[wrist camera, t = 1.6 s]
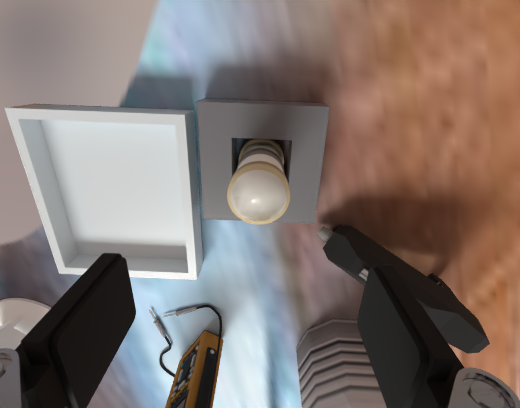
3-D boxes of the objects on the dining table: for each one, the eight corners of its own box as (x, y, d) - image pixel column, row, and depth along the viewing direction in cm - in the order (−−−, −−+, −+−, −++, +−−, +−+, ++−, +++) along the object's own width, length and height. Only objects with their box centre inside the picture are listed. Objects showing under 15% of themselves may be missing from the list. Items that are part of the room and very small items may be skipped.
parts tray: (33, 103, 25) (4, 107, 22) (194, 110, 25) (184, 114, 22) (77, 256, 31) (59, 273, 29) (203, 261, 31) (197, 279, 29)
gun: (341, 204, 34) (321, 225, 25) (474, 291, 30) (505, 353, 21) (329, 223, 35) (305, 249, 26) (455, 309, 31) (477, 375, 22)
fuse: (240, 135, 25) (226, 165, 17) (284, 137, 25) (292, 167, 17) (239, 177, 27) (227, 223, 19) (281, 179, 27) (287, 225, 19)
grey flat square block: (205, 98, 24) (196, 101, 21) (322, 102, 24) (329, 106, 21) (209, 204, 28) (203, 218, 26) (310, 209, 28) (314, 223, 25)
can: (281, 365, 38) (286, 482, 27) (318, 306, 34) (342, 418, 23) (357, 386, 40) (390, 505, 29) (402, 333, 35) (462, 450, 24)
